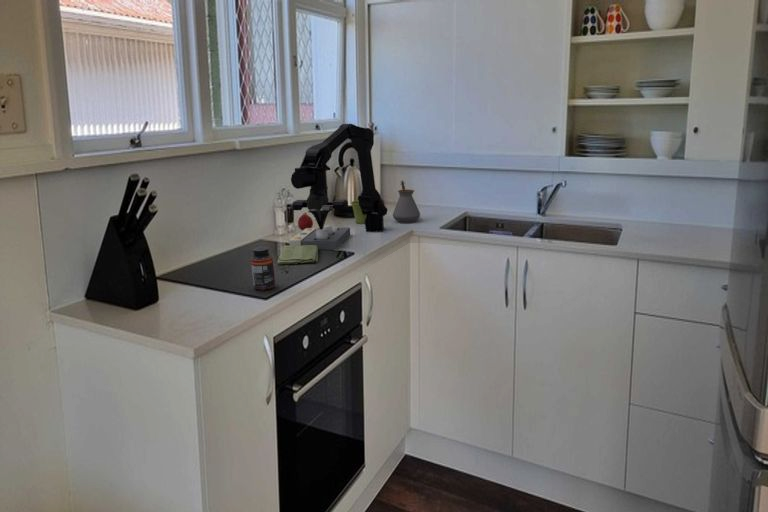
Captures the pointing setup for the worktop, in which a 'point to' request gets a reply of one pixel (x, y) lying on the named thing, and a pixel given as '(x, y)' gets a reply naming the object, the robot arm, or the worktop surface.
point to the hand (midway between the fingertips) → (321, 229)
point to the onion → (305, 221)
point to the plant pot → (358, 213)
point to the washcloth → (298, 254)
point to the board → (332, 240)
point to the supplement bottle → (262, 269)
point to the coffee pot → (406, 207)
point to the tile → (301, 236)
